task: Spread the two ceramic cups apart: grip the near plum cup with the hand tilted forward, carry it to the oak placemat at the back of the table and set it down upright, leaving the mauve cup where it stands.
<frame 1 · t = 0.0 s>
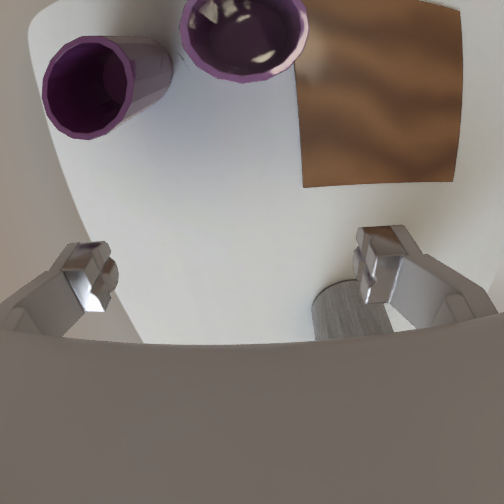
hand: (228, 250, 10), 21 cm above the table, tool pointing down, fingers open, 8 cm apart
mauve cup: (247, 35, 22), on the table
plum cup: (135, 73, 24), on the table
vase: (345, 304, 42), on the table
placemat: (388, 89, 24), on the table
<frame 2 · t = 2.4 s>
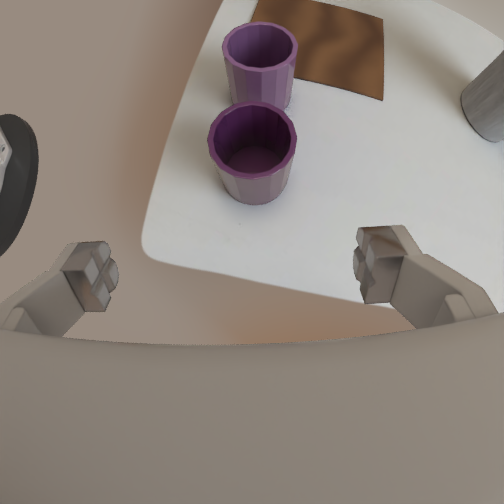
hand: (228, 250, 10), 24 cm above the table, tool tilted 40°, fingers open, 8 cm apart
mauve cup: (260, 94, 35), on the table
plum cup: (254, 173, 35), on the table
vase: (483, 114, 34), on the table
placemat: (317, 37, 36), on the table
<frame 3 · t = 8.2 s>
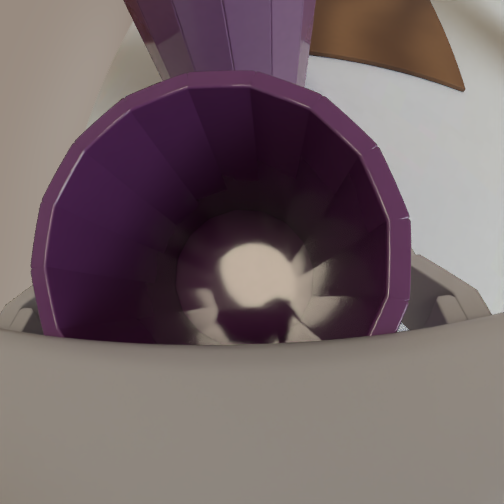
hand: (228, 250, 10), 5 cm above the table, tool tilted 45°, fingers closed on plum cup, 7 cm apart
mauve cup: (239, 91, 16), on the table
plum cup: (244, 278, 15), on the table, touching gripper
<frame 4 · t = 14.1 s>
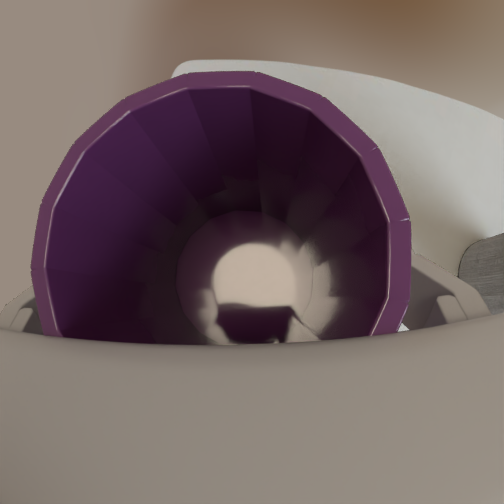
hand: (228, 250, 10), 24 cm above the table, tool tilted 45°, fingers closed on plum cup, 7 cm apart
plum cup: (244, 279, 15), point 18 cm above the table, touching gripper
vase: (483, 279, 31), on the table
when the fingers open (6 cm above the table, at t = 20.3 s): plum cup stays where it is, resting on placemat.
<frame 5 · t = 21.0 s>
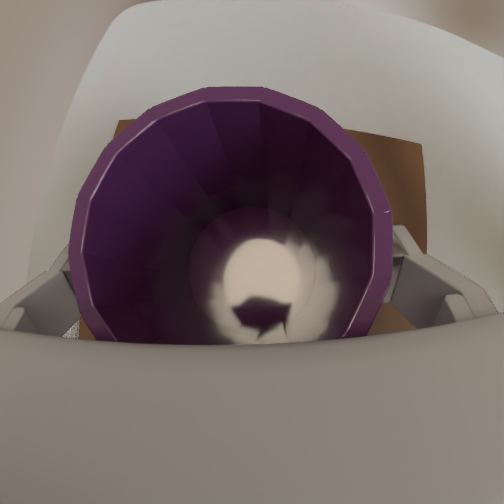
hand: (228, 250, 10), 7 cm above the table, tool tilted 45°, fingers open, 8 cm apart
plum cup: (251, 270, 16), resting on placemat, touching gripper
placemat: (250, 270, 17), on the table
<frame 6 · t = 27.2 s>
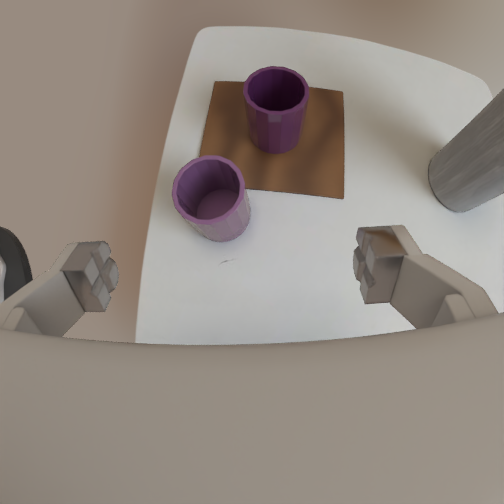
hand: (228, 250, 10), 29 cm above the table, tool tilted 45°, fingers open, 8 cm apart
mauve cup: (222, 214, 40), on the table
plum cup: (275, 131, 41), resting on placemat
vase: (452, 182, 39), on the table
placemat: (274, 132, 42), on the table
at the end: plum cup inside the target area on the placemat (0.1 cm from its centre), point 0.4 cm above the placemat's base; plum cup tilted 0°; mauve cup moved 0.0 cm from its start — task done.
